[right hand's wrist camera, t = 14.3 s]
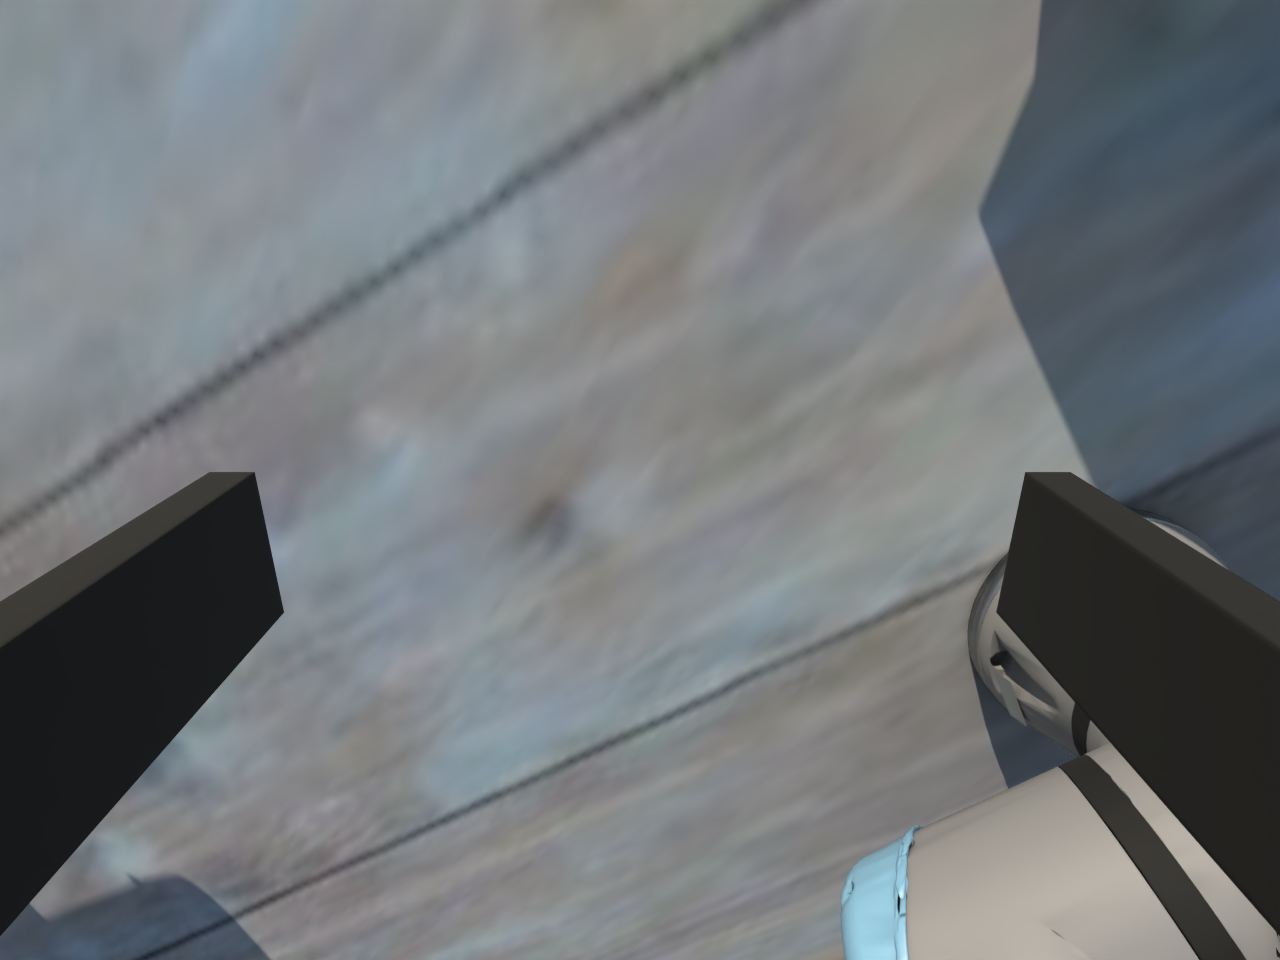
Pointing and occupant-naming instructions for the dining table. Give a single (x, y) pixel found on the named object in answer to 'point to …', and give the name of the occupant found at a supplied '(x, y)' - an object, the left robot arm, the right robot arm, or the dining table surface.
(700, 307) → the dining table surface
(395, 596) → the dining table surface
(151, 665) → the right robot arm
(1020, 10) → the dining table surface
